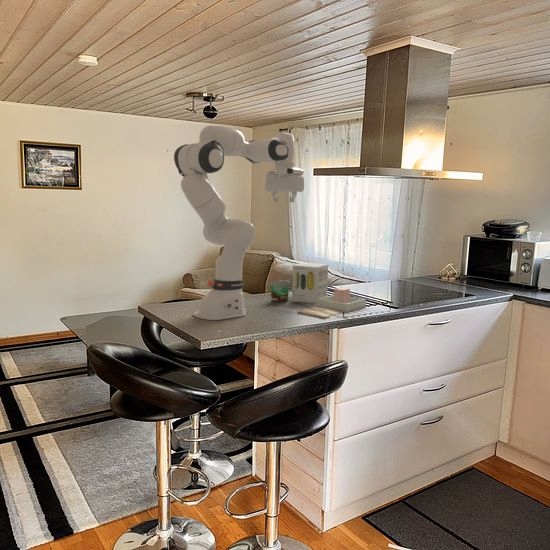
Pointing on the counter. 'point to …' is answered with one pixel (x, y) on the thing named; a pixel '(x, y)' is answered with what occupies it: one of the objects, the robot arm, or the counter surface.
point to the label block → (342, 295)
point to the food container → (280, 290)
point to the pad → (319, 312)
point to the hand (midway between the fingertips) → (283, 202)
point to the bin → (330, 304)
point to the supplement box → (309, 282)
